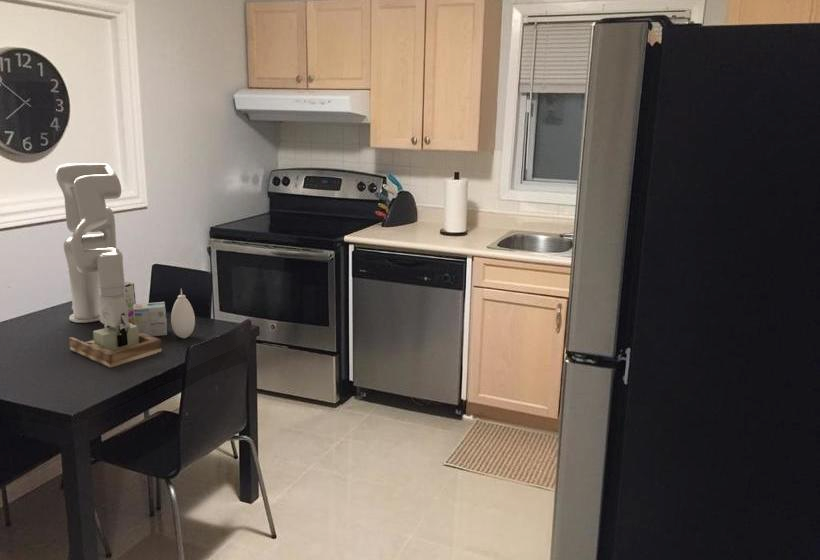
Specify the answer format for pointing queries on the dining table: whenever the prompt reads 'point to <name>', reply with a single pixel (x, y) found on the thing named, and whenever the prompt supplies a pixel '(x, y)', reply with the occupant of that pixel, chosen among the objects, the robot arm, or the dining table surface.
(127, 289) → the candy bar box
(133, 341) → the cream rectangular block
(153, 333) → the light bulb box
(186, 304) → the white air blower bulb
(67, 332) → the dining table surface
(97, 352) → the wooden tray
